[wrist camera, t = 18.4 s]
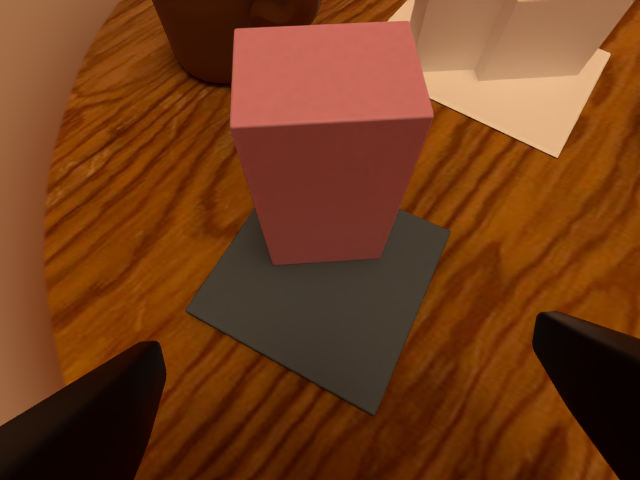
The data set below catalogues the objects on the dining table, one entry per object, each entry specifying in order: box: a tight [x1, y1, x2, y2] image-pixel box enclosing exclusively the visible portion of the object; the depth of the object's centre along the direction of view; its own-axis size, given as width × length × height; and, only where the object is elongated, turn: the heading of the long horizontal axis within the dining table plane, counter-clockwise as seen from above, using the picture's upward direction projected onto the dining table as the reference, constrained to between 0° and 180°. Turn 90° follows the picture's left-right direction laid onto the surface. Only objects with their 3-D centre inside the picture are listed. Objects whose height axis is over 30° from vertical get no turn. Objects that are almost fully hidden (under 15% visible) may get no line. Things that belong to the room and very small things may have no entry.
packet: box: [230, 21, 434, 265], centre depth 15 cm, size 4×6×10 cm
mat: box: [185, 209, 450, 416], centre depth 19 cm, size 10×10×1 cm
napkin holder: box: [387, 0, 635, 158], centre depth 24 cm, size 15×11×6 cm
